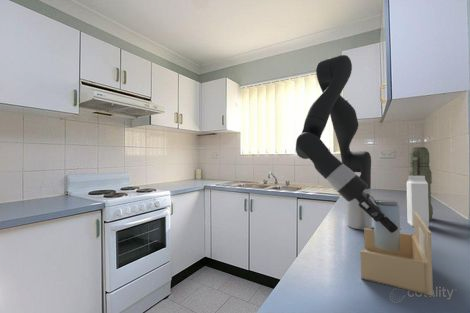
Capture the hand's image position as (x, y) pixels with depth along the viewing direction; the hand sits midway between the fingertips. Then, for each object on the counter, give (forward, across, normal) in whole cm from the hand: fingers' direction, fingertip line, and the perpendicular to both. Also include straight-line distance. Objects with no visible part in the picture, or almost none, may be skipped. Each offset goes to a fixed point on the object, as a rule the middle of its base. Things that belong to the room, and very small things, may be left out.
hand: (394, 227), depth 62 cm
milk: (+16, +52, 0) cm, 55 cm away
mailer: (+7, 0, +9) cm, 11 cm away
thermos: (+18, +67, -3) cm, 70 cm away
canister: (+3, 0, +5) cm, 6 cm away
